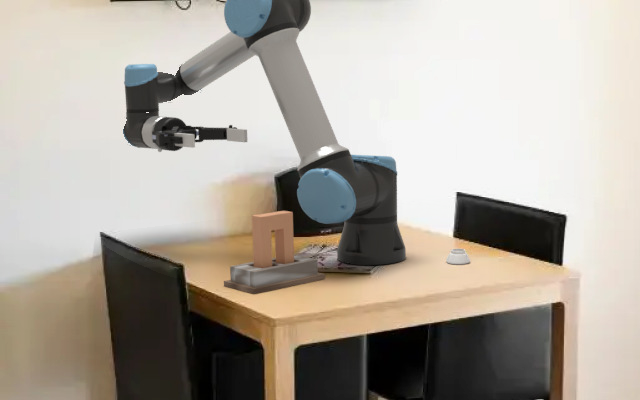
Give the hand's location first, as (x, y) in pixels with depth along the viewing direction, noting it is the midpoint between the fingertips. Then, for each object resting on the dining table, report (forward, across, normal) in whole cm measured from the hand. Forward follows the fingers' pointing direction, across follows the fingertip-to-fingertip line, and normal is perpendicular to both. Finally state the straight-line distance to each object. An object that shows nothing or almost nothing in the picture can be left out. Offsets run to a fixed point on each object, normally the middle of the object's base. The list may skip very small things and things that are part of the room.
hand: (220, 138), depth 226 cm
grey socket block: (+19, +1, -28) cm, 34 cm away
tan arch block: (+19, +1, -27) cm, 33 cm away
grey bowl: (+33, -38, -28) cm, 58 cm away
